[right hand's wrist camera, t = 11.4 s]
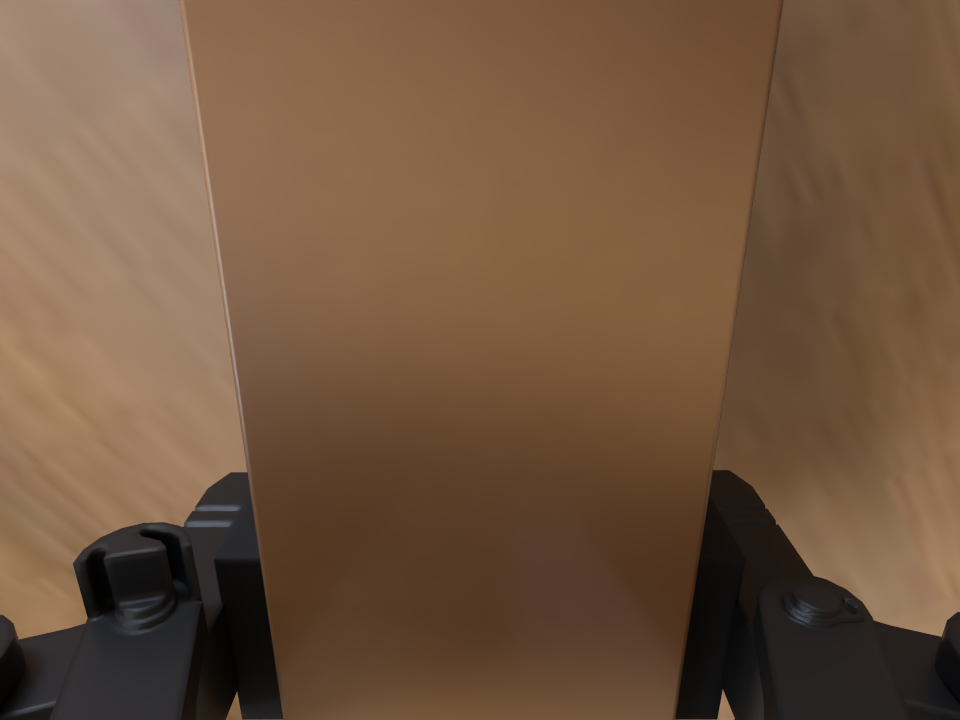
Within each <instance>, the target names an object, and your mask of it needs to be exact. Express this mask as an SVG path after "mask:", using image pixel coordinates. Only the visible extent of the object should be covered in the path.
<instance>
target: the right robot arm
mask: <svg viewBox="0 0 960 720" xmlns="http://www.w3.org/2000/svg"><path fill="white" fill-rule="evenodd" d="M73 566H74V569H75V573H76V577H77V580H78V584H79V588H80V591H81V595H82V598H83V602H84V606H85V609H86V613H87V617H88V619H87V622H86V624H82V625H79V626H75V627H72V628H69V629H64V630H60V631H55V632H51V633H46V634H42V635H38V636H33V637H29V638H24V639H20V640H19V639H18V636H17V633H16V630H15V627H14V624H13V623H12V622H11V621H10V620H8V619H7V618H6V617H5V616H3V615H0V720H226V717H227V715H228V712H229V710H230V707H231V705H232V702H233V700H234V697H235V695H236V692H238V698H239V703H240V709H241V714H242V719H283V713H282V706H281V699H280V692H279V685H278V678H277V671H276V664H275V658H274V651H273V644H272V637H271V630H270V623H269V616H268V609H267V602H266V596H265V589H264V582H263V575H262V568H261V561H260V554H259V547H258V541H257V534H256V527H255V520H254V513H253V506H252V499H251V492H250V485H249V479H248V472H231V473H229V474H228V475H226V476H225V477H224V478H222V479H221V480H219V481H218V482H217V483H215V484H214V485H212V486H211V487H209V488H208V489H207V491H206V492H205V494H204V495H203V496H202V498H201V499H200V501H199V502H198V504H197V505H196V507H195V511H192V513H191V514H190V515H189V517H188V518H187V520H186V521H185V523H184V527H180V526H177V525H173V524H169V523H165V522H160V523H142V524H138V525H134V526H129V527H125V528H121V529H119V530H117V531H115V532H112V533H110V534H108V535H105V536H103V537H101V538H99V539H98V540H97V541H95V542H94V543H92V544H91V545H89V546H88V547H87V548H85V549H84V550H83V551H82V552H81V554H80V555H79V556H78V557H77V559H76V560H75V561H74V563H73ZM722 690H724V693H725V695H726V698H727V700H728V703H729V705H730V707H731V710H732V712H733V715H734V717H735V720H960V612H957V613H956V614H955V615H953V616H952V617H951V618H950V619H948V620H947V622H946V625H945V628H944V632H943V635H942V637H939V636H935V635H930V634H926V633H921V632H917V631H912V630H908V629H903V628H899V627H895V626H890V625H887V624H884V623H880V622H877V621H874V620H873V618H872V616H871V615H870V613H869V611H868V610H867V608H866V607H865V605H864V604H863V602H861V601H860V600H859V599H858V598H856V597H855V596H854V595H853V594H851V593H850V592H849V591H848V590H846V589H845V588H842V587H840V586H838V585H836V584H834V583H832V582H830V581H828V580H826V579H823V578H819V577H815V576H813V574H812V573H811V571H810V570H809V568H808V567H807V566H806V564H805V563H804V561H803V560H802V558H801V557H800V555H799V554H798V552H797V551H796V550H795V548H794V547H793V545H792V544H791V542H790V541H789V539H788V538H787V536H786V535H785V534H784V532H783V531H782V529H781V528H780V526H779V525H776V520H775V519H774V518H773V516H772V515H771V513H770V512H769V510H768V509H765V504H764V503H763V502H762V500H761V499H760V497H759V496H758V494H757V493H756V491H755V490H754V489H753V487H752V486H751V485H749V484H748V483H746V482H745V481H744V480H742V479H741V478H739V477H738V476H736V475H735V474H734V473H732V472H731V471H729V470H713V471H712V478H711V484H710V491H709V497H708V504H707V511H706V517H705V524H704V531H703V537H702V544H701V551H700V557H699V564H698V570H697V577H696V584H695V590H694V597H693V604H692V610H691V617H690V624H689V630H688V637H687V643H686V650H685V657H684V663H683V670H682V677H681V683H680V690H679V696H678V703H677V710H676V716H675V719H717V718H718V712H719V706H720V701H721V695H722Z"/></svg>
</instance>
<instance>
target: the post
mask: <svg viewBox="0 0 960 720" xmlns="http://www.w3.org/2000/svg"><path fill="white" fill-rule="evenodd" d="M179 4H180V10H181V17H182V24H183V31H184V38H185V45H186V52H187V59H188V65H189V72H190V79H191V86H192V93H193V100H194V107H195V114H196V121H197V127H198V134H199V141H200V148H201V155H202V162H203V169H204V176H205V183H206V189H207V196H208V203H209V210H210V217H211V224H212V231H213V238H214V244H215V251H216V258H217V265H218V272H219V279H220V286H221V293H222V300H223V306H224V313H225V320H226V327H227V334H228V341H229V348H230V355H231V362H232V368H233V375H234V382H235V389H236V396H237V403H238V410H239V417H240V423H241V430H242V437H243V444H244V451H245V458H246V465H247V472H248V479H249V485H250V492H251V499H252V506H253V513H254V520H255V527H256V534H257V541H258V547H259V554H260V561H261V568H262V575H263V582H264V589H265V596H266V602H267V609H268V616H269V623H270V630H271V637H272V644H273V651H274V658H275V664H276V671H277V678H278V685H279V692H280V699H281V706H282V713H283V720H675V716H676V710H677V703H678V696H679V690H680V683H681V677H682V670H683V663H684V657H685V650H686V643H687V637H688V630H689V624H690V617H691V610H692V604H693V597H694V590H695V584H696V577H697V570H698V564H699V557H700V551H701V544H702V537H703V531H704V524H705V517H706V511H707V504H708V497H709V491H710V484H711V478H712V471H713V464H714V458H715V451H716V444H717V438H718V431H719V424H720V418H721V411H722V405H723V398H724V391H725V385H726V378H727V371H728V365H729V358H730V351H731V345H732V338H733V332H734V325H735V318H736V312H737V305H738V298H739V292H740V285H741V279H742V272H743V265H744V259H745V252H746V245H747V239H748V232H749V225H750V219H751V212H752V206H753V199H754V192H755V186H756V179H757V172H758V166H759V159H760V152H761V146H762V139H763V133H764V126H765V119H766V113H767V106H768V99H769V93H770V86H771V79H772V73H773V66H774V60H775V53H776V46H777V40H778V33H779V26H780V20H781V13H782V7H783V0H179Z"/></svg>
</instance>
